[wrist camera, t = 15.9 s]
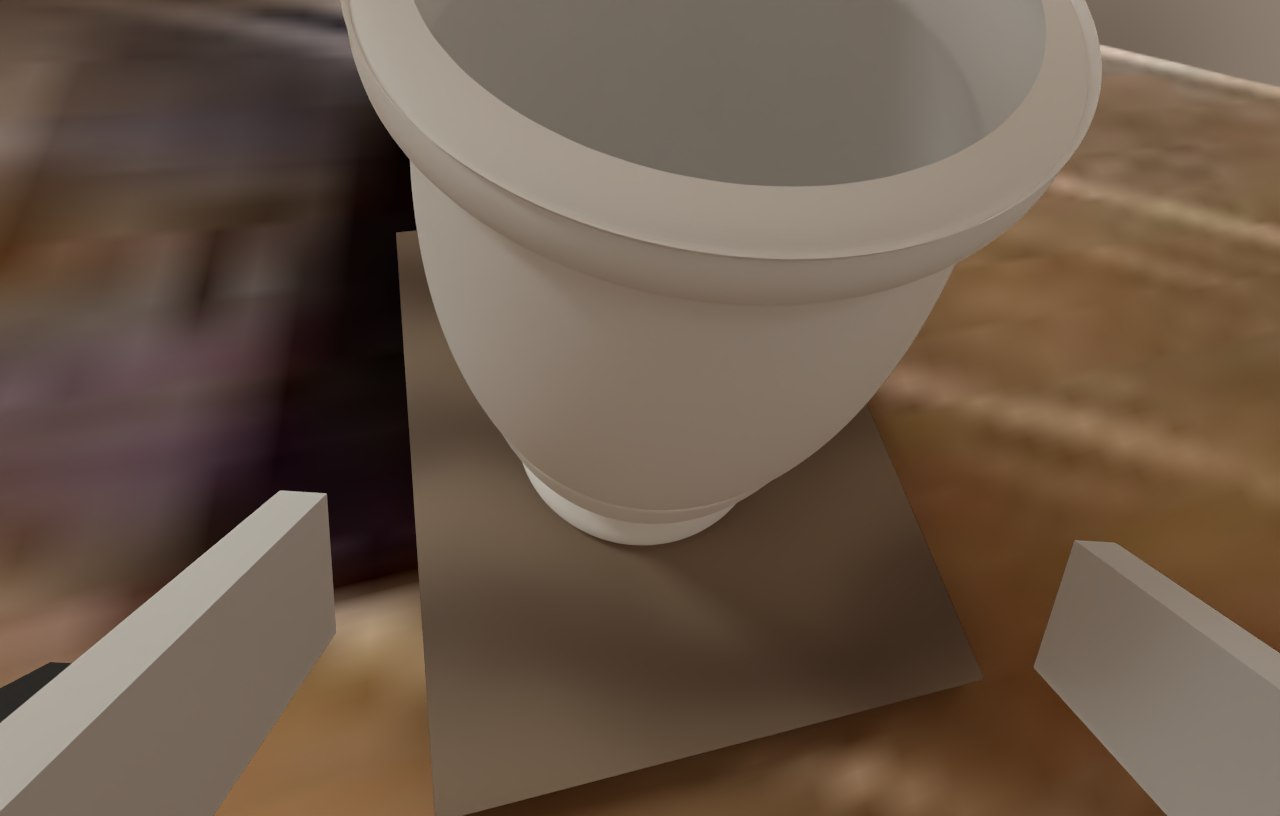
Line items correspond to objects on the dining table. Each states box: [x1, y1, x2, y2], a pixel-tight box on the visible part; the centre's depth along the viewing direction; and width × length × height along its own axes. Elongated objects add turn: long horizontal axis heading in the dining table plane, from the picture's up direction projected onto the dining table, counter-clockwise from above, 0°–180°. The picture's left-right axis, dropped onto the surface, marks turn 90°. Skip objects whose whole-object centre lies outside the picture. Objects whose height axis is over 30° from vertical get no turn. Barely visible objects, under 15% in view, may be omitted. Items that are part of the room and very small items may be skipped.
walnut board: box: [396, 231, 984, 816], centre depth 22 cm, size 20×16×1 cm
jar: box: [340, 0, 1102, 545], centre depth 15 cm, size 11×10×15 cm
